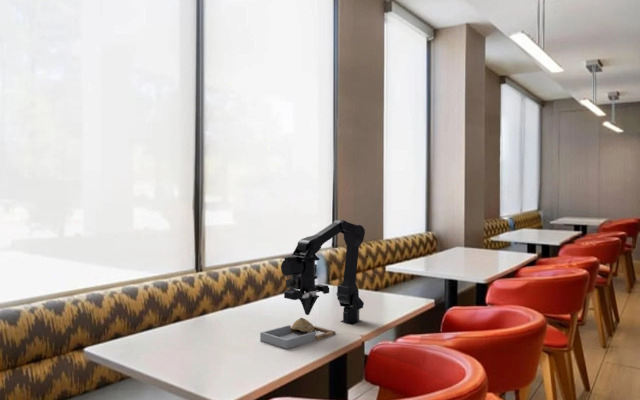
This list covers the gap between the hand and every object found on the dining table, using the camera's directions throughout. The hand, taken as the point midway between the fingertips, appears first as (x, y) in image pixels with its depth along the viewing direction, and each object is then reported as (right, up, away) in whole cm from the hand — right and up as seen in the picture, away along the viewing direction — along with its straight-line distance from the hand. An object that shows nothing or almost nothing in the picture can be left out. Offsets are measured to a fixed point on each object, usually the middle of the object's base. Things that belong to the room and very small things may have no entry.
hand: (307, 314), depth 183 cm
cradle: (+1, -8, +1) cm, 8 cm away
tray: (-7, -8, -7) cm, 12 cm away
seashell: (+1, -8, +1) cm, 8 cm away
